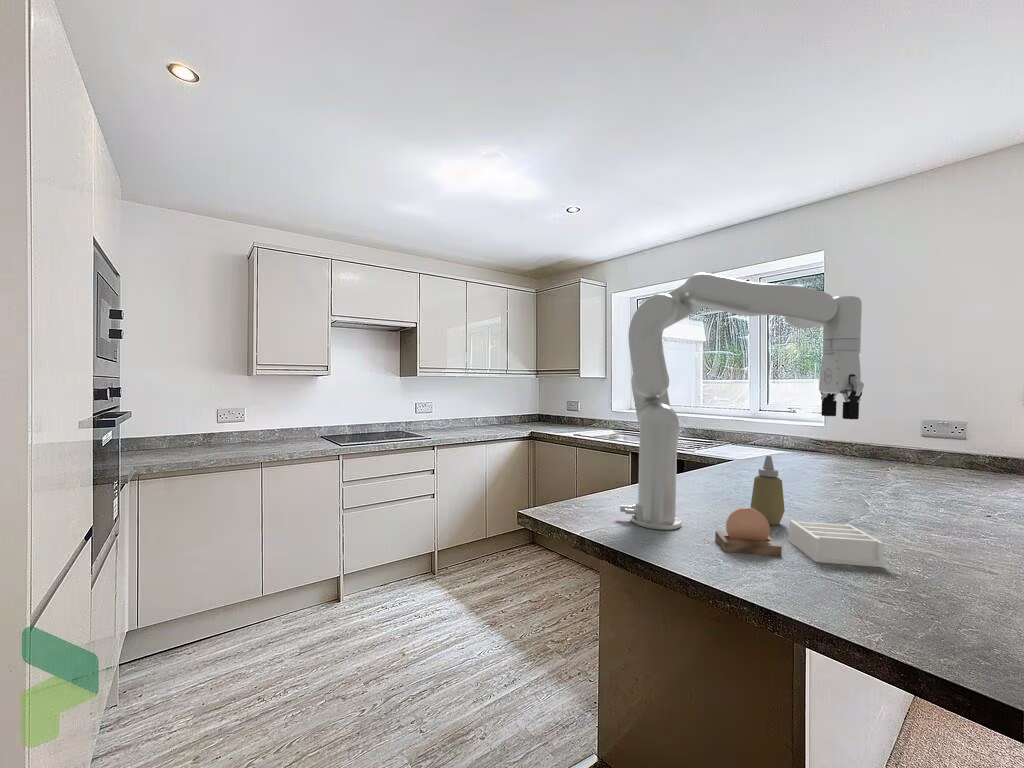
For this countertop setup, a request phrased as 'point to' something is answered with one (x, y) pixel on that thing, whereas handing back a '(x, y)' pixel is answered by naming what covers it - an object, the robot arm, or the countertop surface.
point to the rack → (836, 544)
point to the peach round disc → (747, 525)
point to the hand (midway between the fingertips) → (839, 417)
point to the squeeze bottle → (768, 493)
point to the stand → (748, 545)
